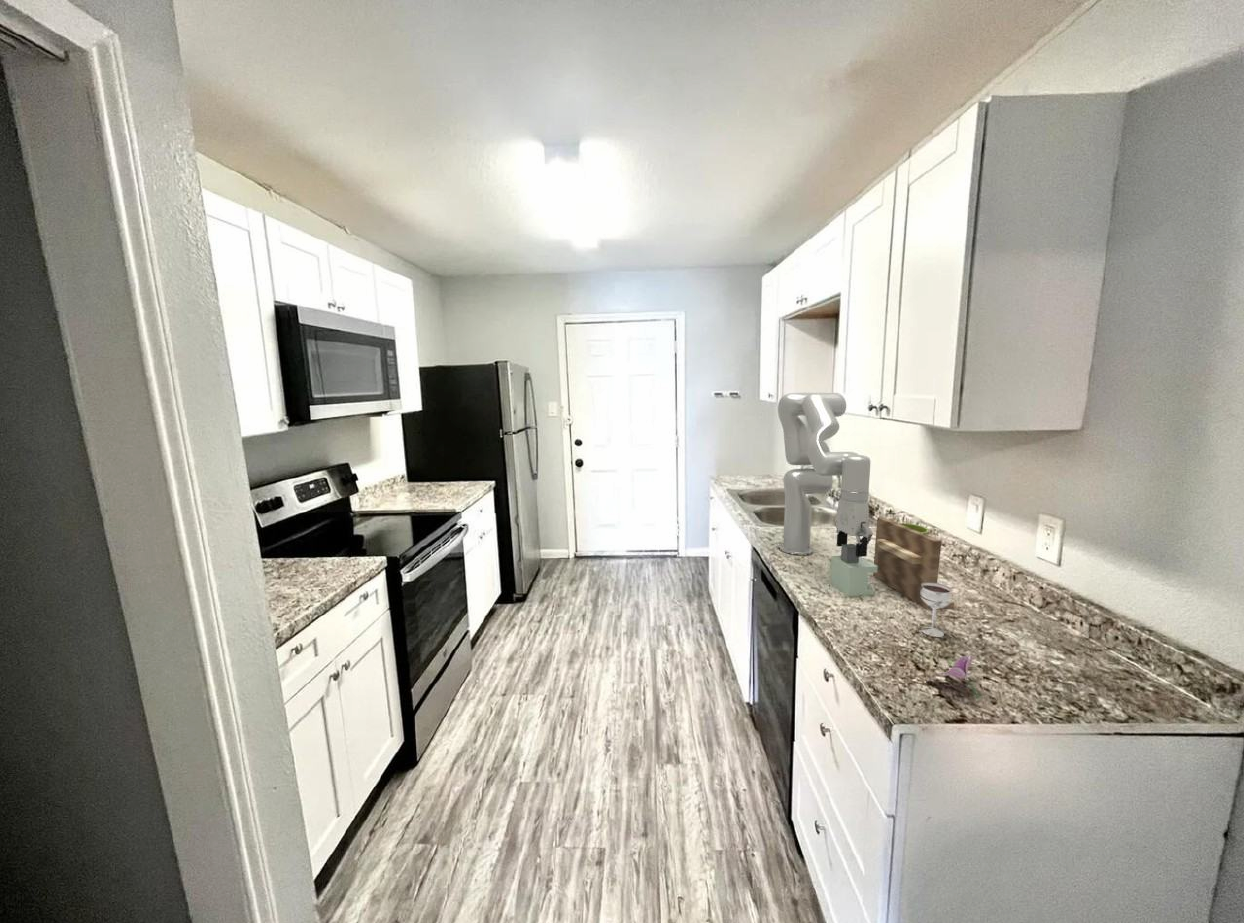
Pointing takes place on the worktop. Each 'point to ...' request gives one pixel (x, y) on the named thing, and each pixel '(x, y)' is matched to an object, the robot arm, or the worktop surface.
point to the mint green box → (851, 572)
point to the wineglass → (935, 602)
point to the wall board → (906, 559)
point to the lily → (960, 669)
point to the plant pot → (915, 527)
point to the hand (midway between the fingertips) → (851, 550)
